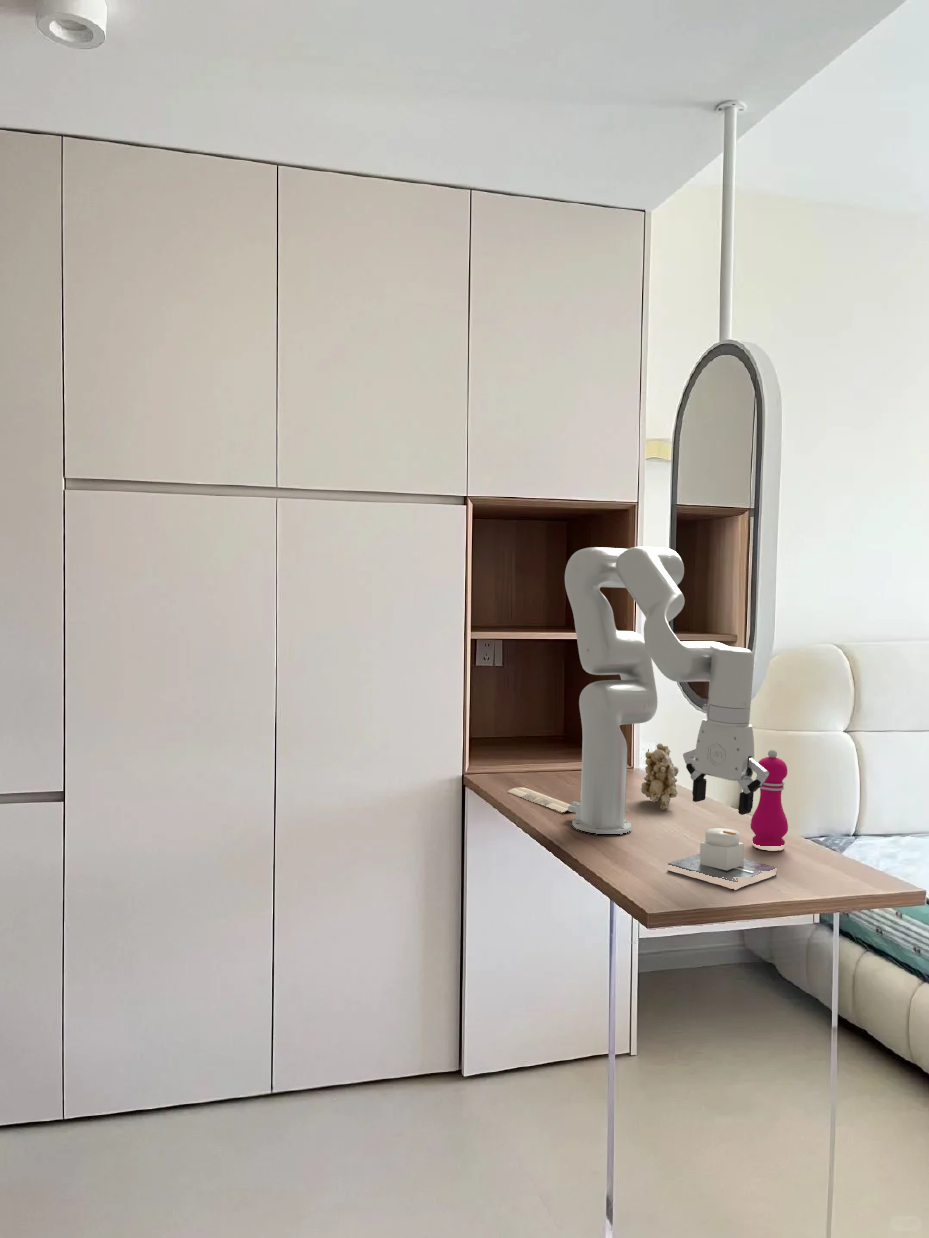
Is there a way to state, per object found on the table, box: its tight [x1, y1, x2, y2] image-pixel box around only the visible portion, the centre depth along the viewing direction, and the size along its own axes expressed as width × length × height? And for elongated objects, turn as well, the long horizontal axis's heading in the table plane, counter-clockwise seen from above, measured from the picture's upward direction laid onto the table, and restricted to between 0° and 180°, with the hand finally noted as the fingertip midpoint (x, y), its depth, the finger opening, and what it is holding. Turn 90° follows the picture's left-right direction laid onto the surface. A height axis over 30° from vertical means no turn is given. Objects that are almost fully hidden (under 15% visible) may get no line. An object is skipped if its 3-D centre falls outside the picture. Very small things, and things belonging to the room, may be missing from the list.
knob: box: [699, 827, 745, 870], centre depth 179 cm, size 6×6×6 cm
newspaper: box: [507, 787, 571, 813], centre depth 232 cm, size 24×7×2 cm, turn 29°
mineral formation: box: [640, 743, 680, 811], centre depth 231 cm, size 8×13×15 cm, turn 6°
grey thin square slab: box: [667, 853, 778, 882], centre depth 179 cm, size 14×14×5 cm
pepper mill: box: [750, 749, 789, 846], centre depth 197 cm, size 7×7×20 cm
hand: (721, 806), depth 179 cm, fingers open, 9 cm apart
